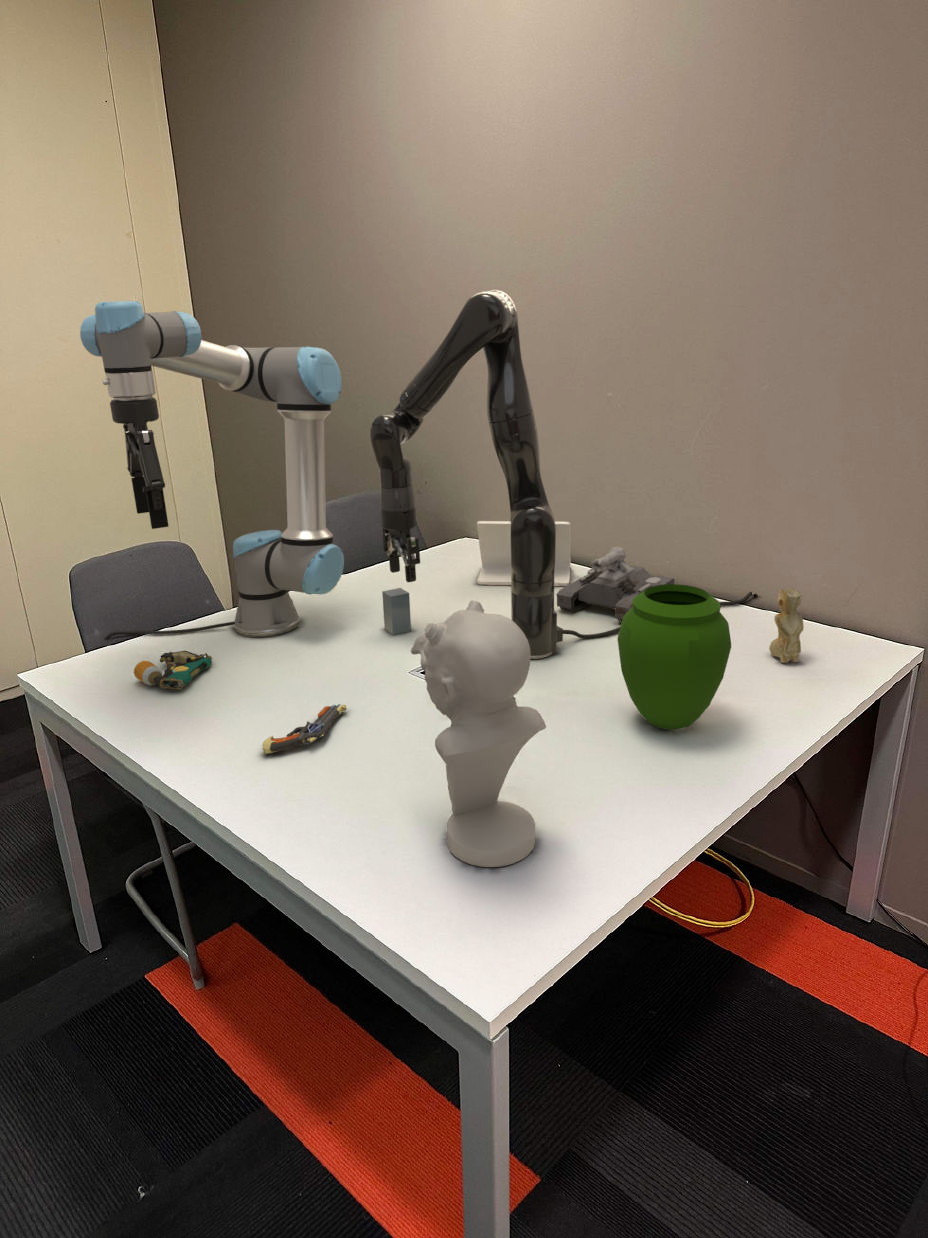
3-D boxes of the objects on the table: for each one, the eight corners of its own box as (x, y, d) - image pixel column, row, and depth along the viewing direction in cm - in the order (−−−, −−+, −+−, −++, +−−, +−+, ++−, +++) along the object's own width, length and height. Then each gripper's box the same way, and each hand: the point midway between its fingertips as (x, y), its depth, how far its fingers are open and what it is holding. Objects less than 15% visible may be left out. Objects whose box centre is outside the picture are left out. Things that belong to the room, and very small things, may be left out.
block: (402, 625, 205) (400, 587, 202) (411, 631, 202) (409, 592, 198) (384, 629, 203) (382, 591, 200) (392, 635, 199) (390, 596, 196)
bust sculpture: (481, 772, 140) (476, 569, 128) (565, 848, 120) (569, 617, 108) (392, 800, 134) (378, 588, 121) (465, 886, 114) (457, 642, 101)
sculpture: (791, 651, 184) (798, 585, 178) (805, 664, 177) (813, 596, 172) (764, 652, 183) (771, 586, 178) (777, 666, 177) (784, 597, 171)
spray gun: (177, 659, 191) (231, 671, 185) (120, 684, 176) (176, 698, 171) (176, 641, 190) (230, 653, 184) (118, 665, 175) (174, 678, 169)
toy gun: (257, 744, 147) (311, 741, 145) (297, 702, 165) (346, 699, 162) (260, 758, 147) (314, 756, 145) (300, 715, 165) (349, 712, 163)
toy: (603, 584, 229) (605, 530, 224) (673, 597, 218) (677, 540, 213) (555, 612, 210) (556, 553, 205) (630, 627, 199) (633, 566, 194)
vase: (737, 711, 158) (749, 586, 150) (704, 757, 143) (715, 621, 134) (638, 689, 168) (643, 571, 160) (597, 730, 153) (601, 602, 144)
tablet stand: (569, 585, 229) (570, 524, 223) (476, 584, 232) (475, 523, 226) (570, 566, 246) (571, 508, 240) (484, 564, 249) (483, 507, 243)
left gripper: (98, 393, 154) (118, 509, 161) (122, 406, 133) (143, 537, 141) (141, 390, 157) (159, 503, 164) (171, 402, 137) (189, 530, 144)
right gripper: (369, 502, 190) (375, 571, 196) (395, 514, 178) (401, 588, 184) (399, 497, 193) (404, 566, 199) (427, 509, 182) (432, 581, 187)
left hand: (152, 519), depth 153 cm, fingers open, 13 cm apart
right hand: (403, 576), depth 192 cm, fingers open, 8 cm apart
